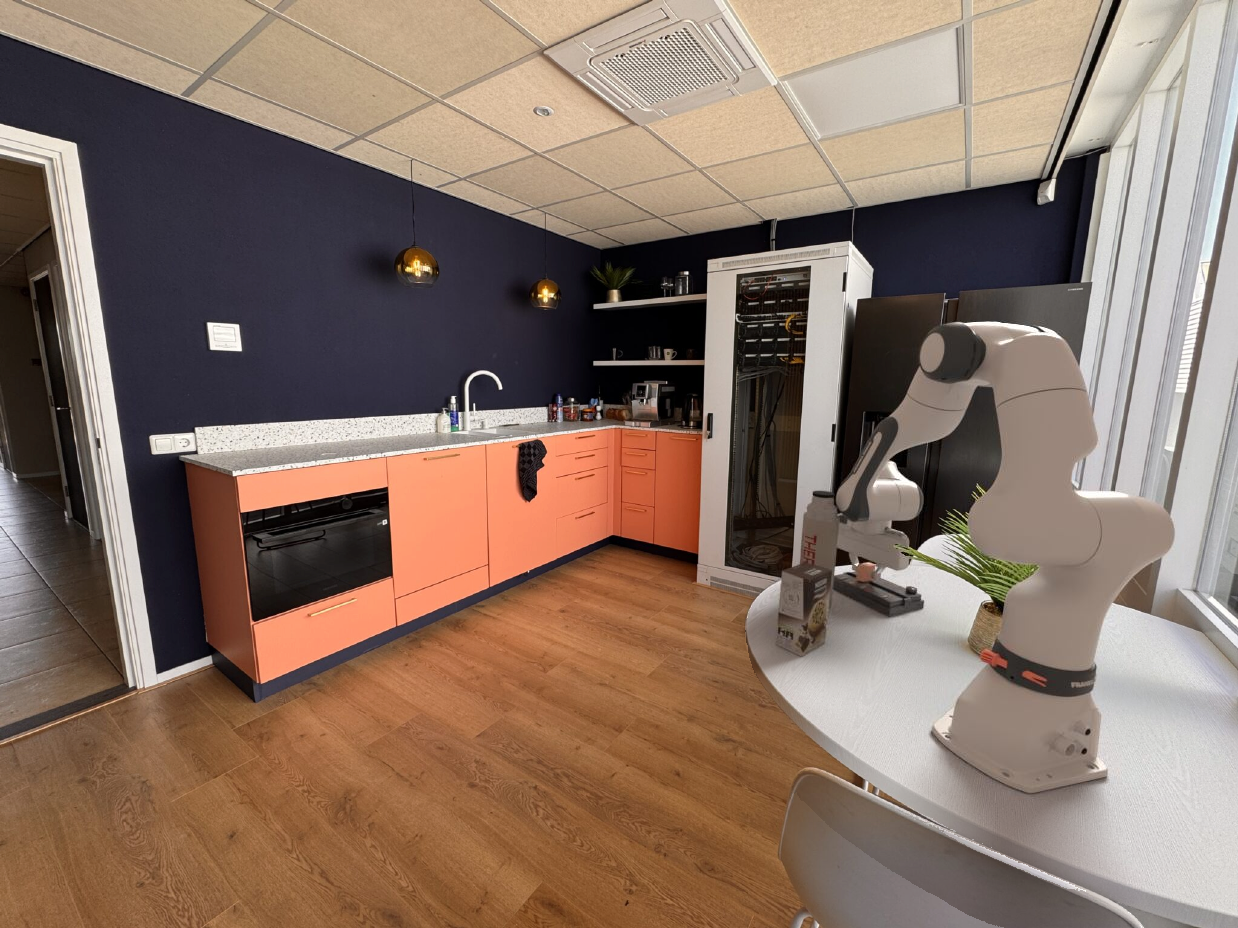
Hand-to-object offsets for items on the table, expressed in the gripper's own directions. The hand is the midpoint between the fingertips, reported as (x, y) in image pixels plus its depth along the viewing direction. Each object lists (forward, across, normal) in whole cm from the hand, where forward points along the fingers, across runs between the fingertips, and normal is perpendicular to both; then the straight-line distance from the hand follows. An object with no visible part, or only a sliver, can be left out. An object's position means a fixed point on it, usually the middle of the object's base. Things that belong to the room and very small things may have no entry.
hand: (865, 574), depth 130 cm
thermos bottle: (+5, 0, +17) cm, 18 cm away
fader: (+3, 0, 0) cm, 3 cm away
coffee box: (+5, -13, +34) cm, 37 cm away
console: (+5, -3, 0) cm, 6 cm away
